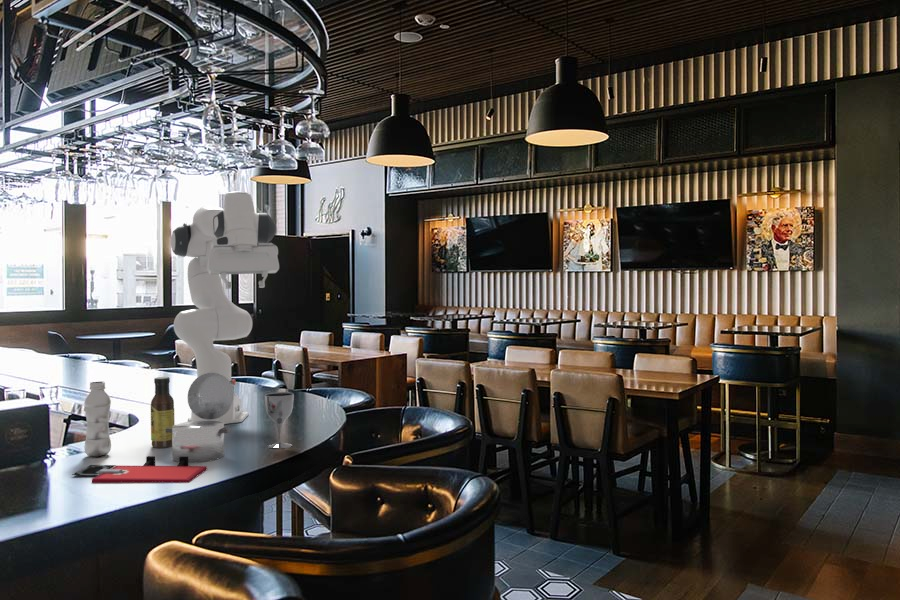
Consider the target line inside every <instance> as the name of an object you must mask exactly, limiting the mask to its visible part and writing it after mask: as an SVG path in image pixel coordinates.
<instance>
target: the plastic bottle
mask: <svg viewBox="0 0 900 600" xmlns="http://www.w3.org/2000/svg"><path fill="white" fill-rule="evenodd" d="M105 390H106V382H105V381H91V382H89V393H88V394H87V396H86V398H85V400H84V411H85V416H86V418H85V419H86V435H85V436H86V437H85V441H84V453H85V454H86V456H88V457H102V456H105V455H108V454H109V453H110V452H111V449H112V442H111V441H112V440H111V437H110V427H109V425H110V423H109V420H110V410H111V403H112V401H111V397H110V396H109V395H108V393H107V392H106V391H105Z"/></svg>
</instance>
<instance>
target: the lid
mask: <svg viewBox="0 0 900 600" xmlns="http://www.w3.org/2000/svg"><path fill="white" fill-rule="evenodd" d="M234 389H235V388H234ZM234 389H233V386H232V384H231V382H230V381H229V380H228V379H227V378H226V377H225V376H223V375H221V374H218V373H206V374H203V375H201V376H199V377H198V378H195V379H194V380H193V381H192V383H191V384H190V386H189V389H188V392H187V404H188V406H189V409H190V411H191V413H192V412H193V413H194V414H195V415H196V416H198V417H200V418H202V419H208V420H210V419H217V418H219V417H222V416H223V415H225V414H226V413H227V412H228V411H229V409H230V408H231V406H232V404H233V401H234V392H235V391H234Z"/></svg>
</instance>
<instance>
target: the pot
mask: <svg viewBox="0 0 900 600" xmlns="http://www.w3.org/2000/svg"><path fill="white" fill-rule="evenodd" d="M231 431H232V428H231V427H229V426H227V427H226V426H225V424H224V423H223V422H220V421H192V422H188V421H186V422H180V423H176V424H175V425H174V426H173V427H169V428H167V429H166V433H172V446H171V447H172V448H171V449H172V450H171V451H172V455H171V457H172V461H173V462H176V463H179V457H181V456H187V457H188V464H194V463H193V462H198V463H205V462H204V461H206V462H211V461H210V460H212V461H216V460H218V459H217V458H219V459H221V458H223V457H224V456H225V434H228V433H231ZM223 455H224V456H223ZM222 456H223V457H222ZM220 457H221V458H220ZM215 459H216V460H215Z"/></svg>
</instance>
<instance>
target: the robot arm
mask: <svg viewBox="0 0 900 600" xmlns="http://www.w3.org/2000/svg"><path fill="white" fill-rule="evenodd" d="M223 200H224V201H223V202H224V203H223V208H222V207H220V206H215V205H205V206H203V207H200V208H199V209H197V210H196V211H195V213H194V215H193V217H192V223H191V224H187V222H185V223H183V224H182V225H181V226H178V227H176V228H175V229H174V230H173V231H172V233H171V236H170V239H169V241H170V242H169V244H170V248H171V250H172V252H173V254H174V255H176V256H178V257H183V258H185V257H188V258H189V257H190V258H192V259H191V260H190V261H189V263H188V264H187V265H188V266H187V282H188V289H189V295H190V299H191V301H192V303H193V305H194V306H195V307H196V308H192V309H187V310H182V311H179V313H178V314H177V315H176V316H175V318H174V320H173V331H174V333H175V335H176V336H177V338H178V339H180V341H181V340H182V341H183V342H184V343H185V344H186V345H187V346H188V347H189V348H190V349H191V351H192V353H193V354H194V357H195V363H196V364H195V365H196V374H197V376H196V377H197V378H198V377H199V376H201V375H203V374H206V373H218V374H221V375H223V376H225V377H226V378H227V379H228V380H229V381H230V382H231V384H232V386H233V389H235V387H234V386H236V384H237V383H236V379H232V359H231V357H230V356H229V354H227V353H226V352H224V351H222V350H220V349H217V348H216V347H215V345H214V342H215V341H231V340H232V341H234V340H238V339H242V338H243V339H244V338H247V337H248V336H249V335H250V333H251V331H252V329H253V318H252V316H251V314H250V313H249V312H248V311H247V310H245V309H243V308H241V307H239V306H237V305H236V304H234V303H233V302H232V300H230V299H229V297H228V296H227V295H226V293H225V290H224V287H223V283H222V282H224V284H225V289H226V290H229V289H230V290H231V289H232V287H233V286H232V281H229V280H228V279H227V275H247V274H248V275H249V274H250V275H251V274H253V275H254V274H255V275H256V274H261V277H262V280H259V281H258V285H259V286H258V288H262V289H263V288H265V287H266V284H265V283H266V282H265V281H266V280H267V277H268V276H269V275H268V274H276V273H278V271H279V270H280V262H279V258H278V256H279V248H278V246H277V245H276V244H274V243H272V242H271V241H272V239H273V238H274V237H275V234H276V224H275V220H274V219H273V218H272V217H271V216H270V214H268V213H267V212H255V206H254V202H253V198H252V195H251V194H250V193H248V192H245V191H229V192H226V193H225V195H224V199H223ZM197 378H196V379H197ZM190 415H191V417H189V418H188V419H187V422H192V421H220V422H223V423H224V425H226V424H227V425H228V424H235V423H243V421H244V420H245V419H246V418H247V417H248V416H249V412H248V411H243V409H242V399H241V398H240V397H239V396H238V394H237V393H236V392H235V391H234V401H233V404H232V406H231V408H230V409H229V411H228V412H227V413H226V414H225V415H223V416H222V417H219V418H217V419H210V420H208V419H202V418H200V417H198V416H196V415H195V414H194V413H193V412H192V411H191V414H190Z"/></svg>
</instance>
